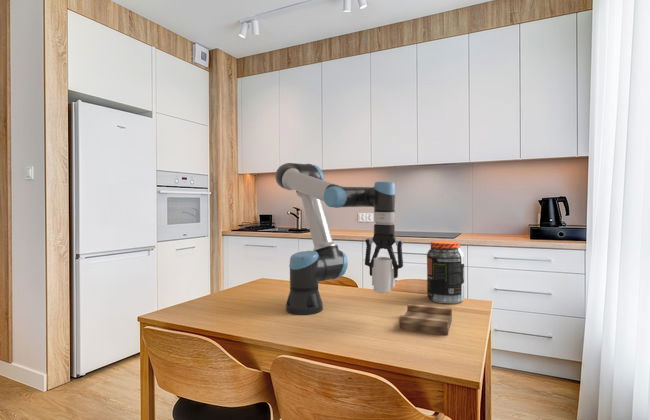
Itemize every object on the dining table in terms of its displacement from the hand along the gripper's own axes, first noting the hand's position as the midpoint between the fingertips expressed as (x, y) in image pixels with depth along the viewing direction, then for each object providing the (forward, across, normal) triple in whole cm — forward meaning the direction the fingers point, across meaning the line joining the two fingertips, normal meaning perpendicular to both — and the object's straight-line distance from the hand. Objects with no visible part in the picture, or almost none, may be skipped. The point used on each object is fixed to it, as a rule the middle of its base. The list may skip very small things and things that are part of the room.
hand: (383, 285), depth 141 cm
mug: (+2, 0, 0) cm, 2 cm away
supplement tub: (+13, +19, +38) cm, 44 cm away
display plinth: (+13, +16, +1) cm, 20 cm away
